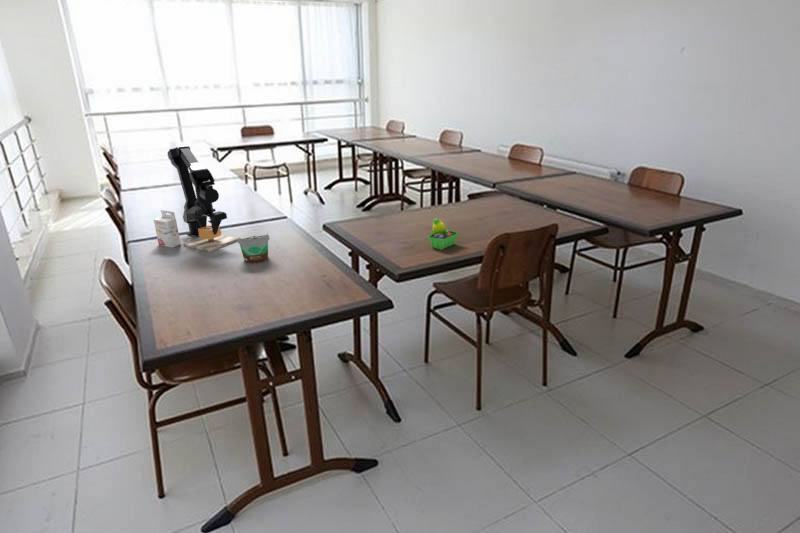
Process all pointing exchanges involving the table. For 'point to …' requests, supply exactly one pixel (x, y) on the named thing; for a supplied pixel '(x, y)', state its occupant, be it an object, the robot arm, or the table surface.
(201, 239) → the post board
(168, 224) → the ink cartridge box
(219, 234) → the orange square ring
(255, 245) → the food container
